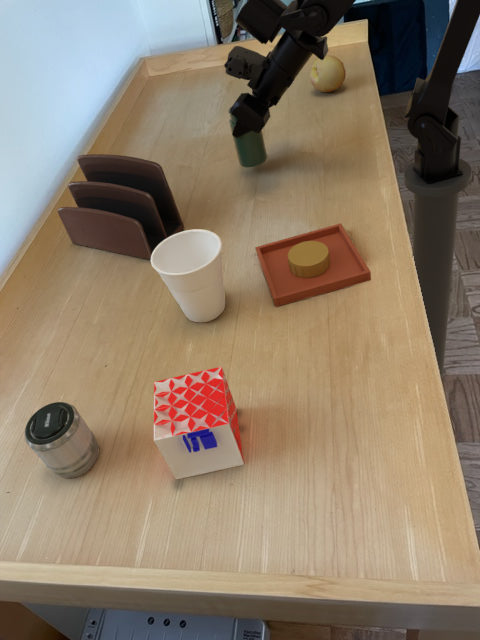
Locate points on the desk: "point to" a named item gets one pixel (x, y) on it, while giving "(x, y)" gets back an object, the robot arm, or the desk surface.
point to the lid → (308, 259)
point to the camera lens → (62, 439)
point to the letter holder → (121, 206)
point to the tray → (339, 274)
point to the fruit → (327, 74)
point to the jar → (249, 146)
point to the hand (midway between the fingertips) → (239, 128)
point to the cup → (193, 272)
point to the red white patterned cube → (197, 423)
